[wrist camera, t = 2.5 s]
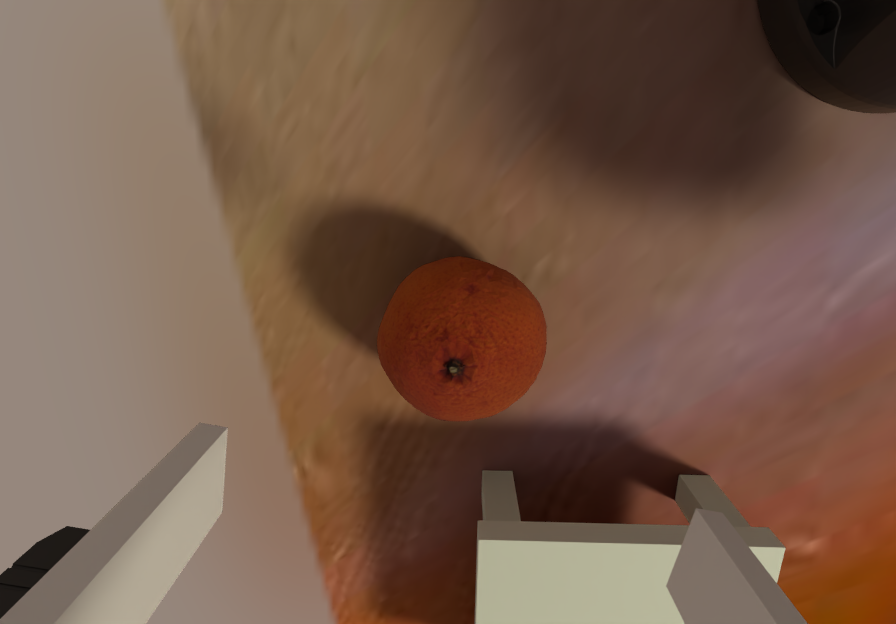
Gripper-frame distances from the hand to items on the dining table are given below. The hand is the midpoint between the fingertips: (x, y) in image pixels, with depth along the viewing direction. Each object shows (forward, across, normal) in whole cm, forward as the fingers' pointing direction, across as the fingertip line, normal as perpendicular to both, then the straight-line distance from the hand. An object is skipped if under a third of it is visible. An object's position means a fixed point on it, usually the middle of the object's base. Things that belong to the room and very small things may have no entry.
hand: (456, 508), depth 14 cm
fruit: (+17, 0, 0) cm, 17 cm away
